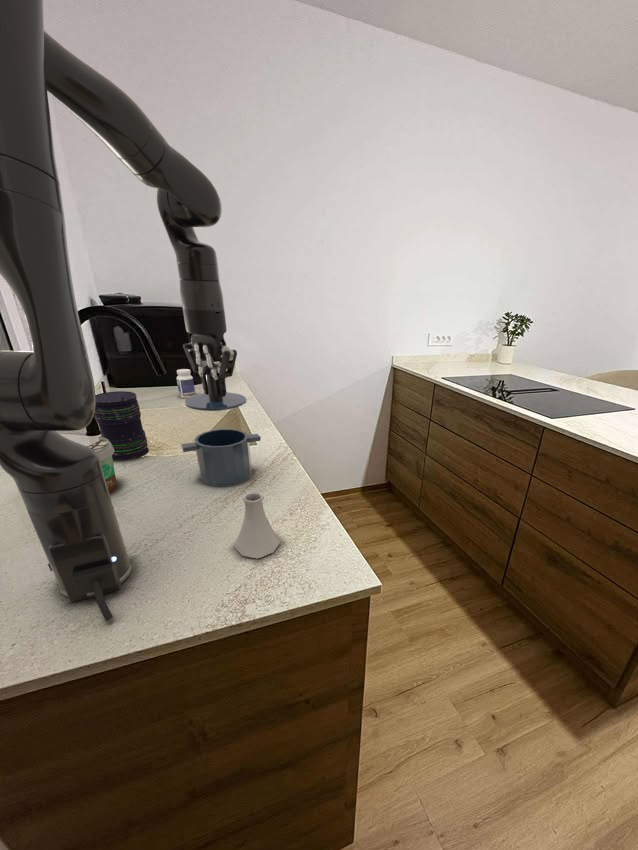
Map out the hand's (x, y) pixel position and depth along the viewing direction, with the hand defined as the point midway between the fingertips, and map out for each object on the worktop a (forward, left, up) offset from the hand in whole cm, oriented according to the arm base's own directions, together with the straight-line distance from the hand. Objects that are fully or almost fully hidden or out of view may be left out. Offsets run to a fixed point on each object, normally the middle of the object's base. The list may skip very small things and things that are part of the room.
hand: (215, 395), depth 82 cm
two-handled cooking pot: (0, 0, -19) cm, 19 cm away
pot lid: (0, 0, -2) cm, 2 cm away
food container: (+3, +25, -19) cm, 32 cm away
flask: (-30, +1, -19) cm, 36 cm away
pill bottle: (+74, -1, -19) cm, 77 cm away
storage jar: (+23, +20, -19) cm, 36 cm away
